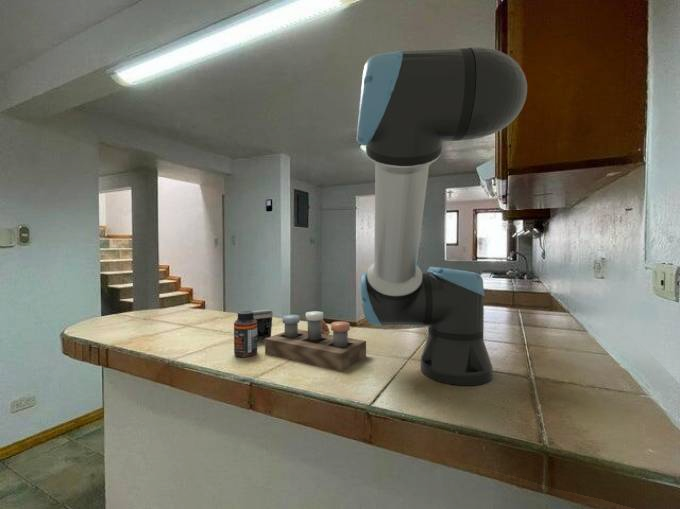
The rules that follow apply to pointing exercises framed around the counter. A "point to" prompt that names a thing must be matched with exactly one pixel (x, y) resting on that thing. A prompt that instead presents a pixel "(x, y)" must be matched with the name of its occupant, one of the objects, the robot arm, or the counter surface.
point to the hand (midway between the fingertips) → (389, 244)
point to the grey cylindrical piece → (291, 325)
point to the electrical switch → (263, 323)
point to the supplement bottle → (245, 334)
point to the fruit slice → (324, 327)
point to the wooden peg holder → (316, 350)
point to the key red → (340, 334)
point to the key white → (314, 324)
